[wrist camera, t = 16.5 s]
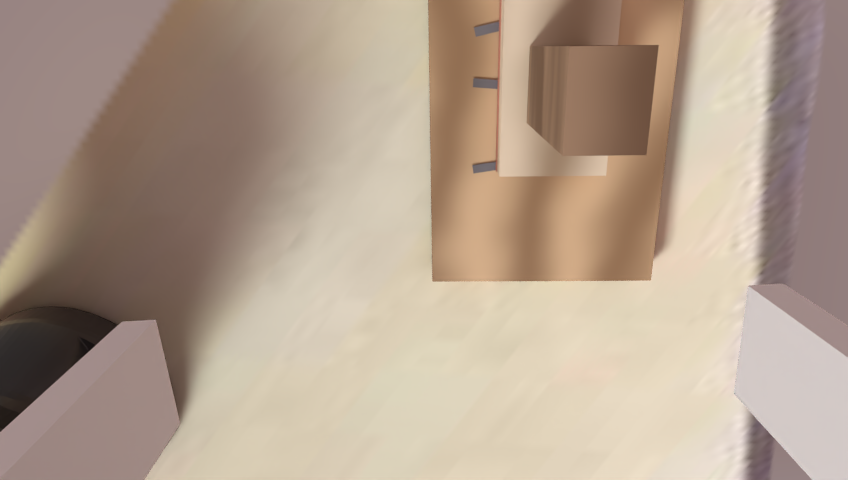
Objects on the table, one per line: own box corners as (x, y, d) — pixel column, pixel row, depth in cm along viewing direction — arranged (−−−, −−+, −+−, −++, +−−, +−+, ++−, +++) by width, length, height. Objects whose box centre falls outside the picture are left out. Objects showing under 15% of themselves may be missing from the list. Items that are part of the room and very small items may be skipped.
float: (495, 169, 34) (521, 231, 23) (499, -13, 31) (533, -46, 20) (597, 168, 34) (674, 230, 23) (612, -15, 31) (712, -51, 19)
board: (432, 272, 38) (432, 282, 37) (427, -99, 31) (426, -107, 30) (642, 271, 38) (651, 280, 36) (686, -106, 31) (699, -114, 29)
